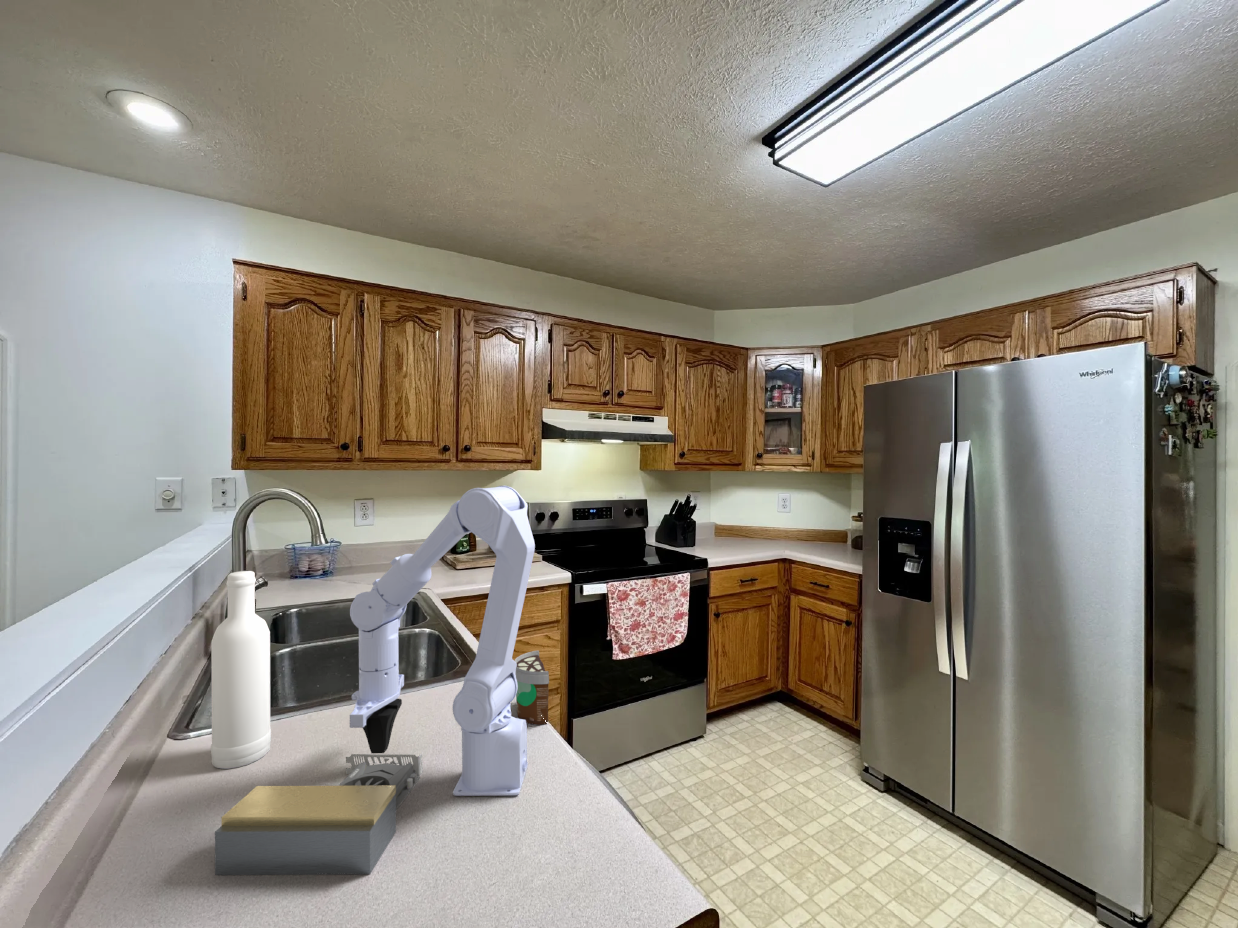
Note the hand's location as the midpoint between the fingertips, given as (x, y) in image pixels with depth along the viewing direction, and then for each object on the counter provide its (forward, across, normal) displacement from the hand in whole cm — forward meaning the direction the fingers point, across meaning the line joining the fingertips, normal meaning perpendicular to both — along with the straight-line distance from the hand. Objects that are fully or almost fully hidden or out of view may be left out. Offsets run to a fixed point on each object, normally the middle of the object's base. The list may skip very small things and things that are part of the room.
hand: (379, 750), depth 82 cm
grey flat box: (+2, +18, 0) cm, 19 cm away
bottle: (+2, -3, -24) cm, 24 cm away
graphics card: (+3, +10, +1) cm, 10 cm away
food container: (+2, -16, +21) cm, 27 cm away
